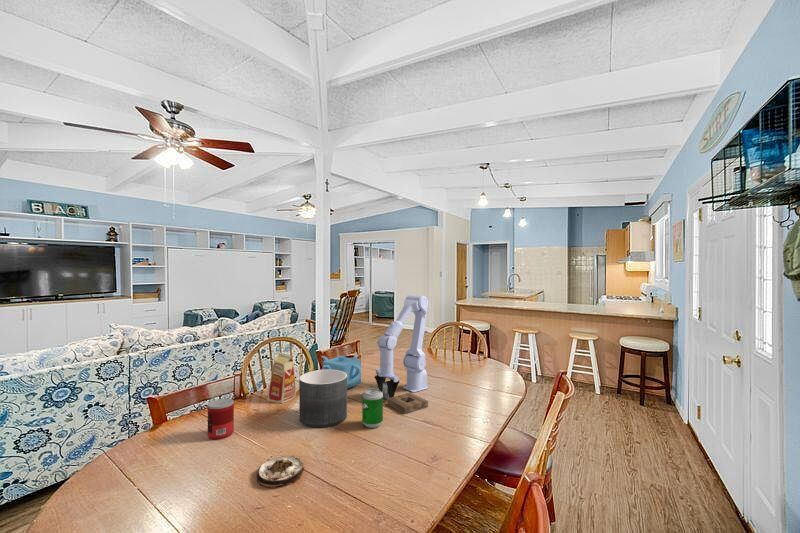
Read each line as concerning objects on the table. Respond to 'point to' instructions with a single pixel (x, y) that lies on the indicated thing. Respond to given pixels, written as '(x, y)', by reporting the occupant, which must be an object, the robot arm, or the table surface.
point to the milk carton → (282, 380)
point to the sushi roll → (280, 471)
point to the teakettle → (345, 368)
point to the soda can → (372, 408)
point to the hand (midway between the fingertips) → (386, 394)
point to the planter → (322, 398)
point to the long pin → (385, 392)
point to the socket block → (407, 403)
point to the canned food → (220, 418)
